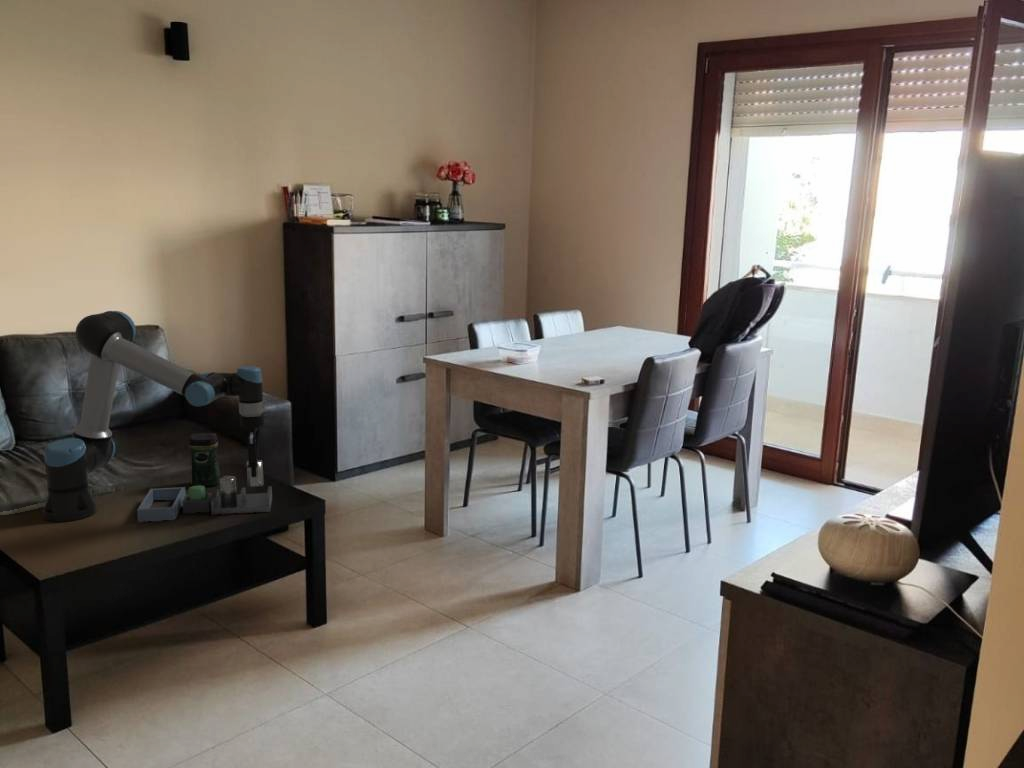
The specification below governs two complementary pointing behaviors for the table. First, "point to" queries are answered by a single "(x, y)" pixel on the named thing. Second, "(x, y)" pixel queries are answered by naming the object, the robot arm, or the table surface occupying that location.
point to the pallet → (242, 503)
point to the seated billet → (228, 489)
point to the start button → (197, 493)
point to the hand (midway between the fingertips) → (255, 483)
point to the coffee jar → (204, 459)
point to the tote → (161, 513)
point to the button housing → (197, 504)
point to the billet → (260, 471)
